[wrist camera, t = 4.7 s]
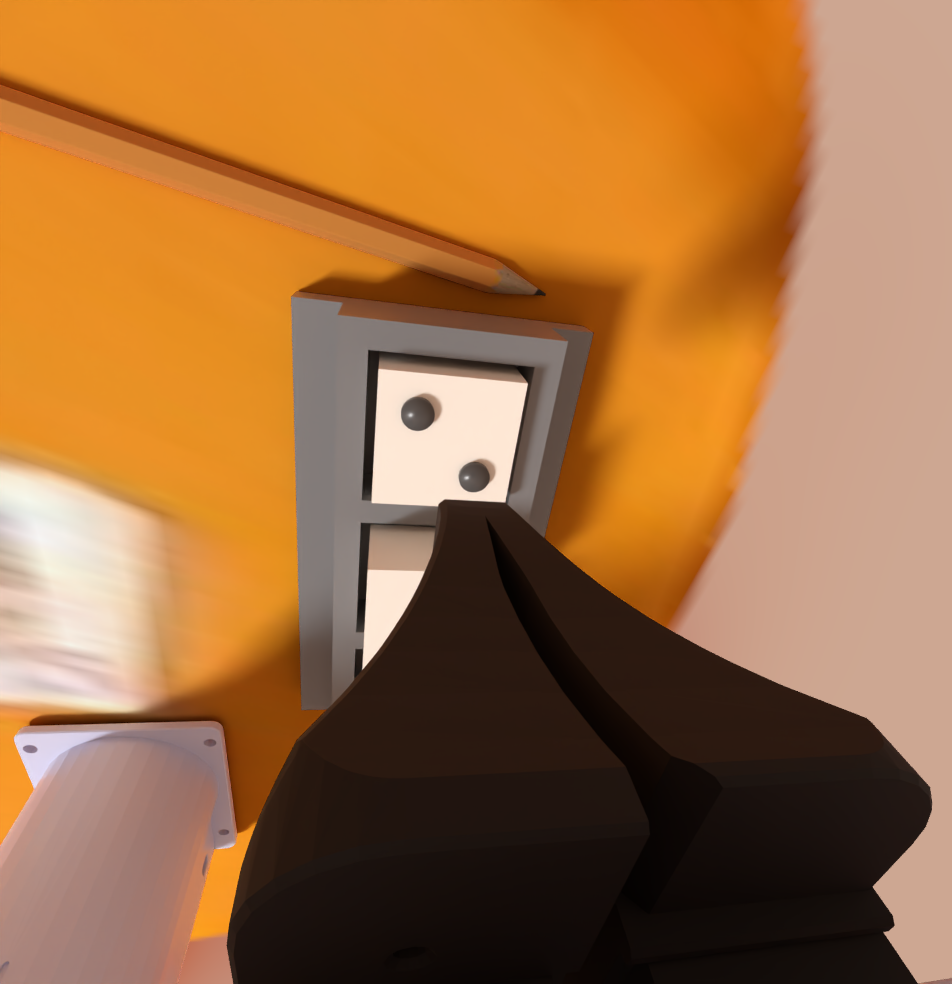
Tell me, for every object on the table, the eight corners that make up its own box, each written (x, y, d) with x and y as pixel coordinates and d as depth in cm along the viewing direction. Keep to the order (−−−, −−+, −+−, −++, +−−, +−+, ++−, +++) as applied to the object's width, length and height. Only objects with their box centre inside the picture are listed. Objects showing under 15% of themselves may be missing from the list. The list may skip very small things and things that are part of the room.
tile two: (490, 474, 18) (504, 513, 16) (373, 466, 17) (371, 506, 15) (510, 360, 16) (529, 385, 14) (380, 346, 15) (378, 371, 13)
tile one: (474, 619, 19) (485, 673, 17) (365, 618, 19) (361, 675, 16) (491, 529, 18) (505, 577, 15) (370, 524, 17) (367, 573, 15)
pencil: (-235, 60, 12) (536, 314, 17) (-287, 22, 11) (548, 304, 16) (-225, 20, 12) (542, 285, 17) (-276, -23, 11) (555, 273, 16)
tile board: (500, 687, 25) (511, 739, 23) (304, 691, 23) (294, 747, 21) (583, 326, 17) (614, 347, 15) (296, 291, 15) (279, 308, 13)
